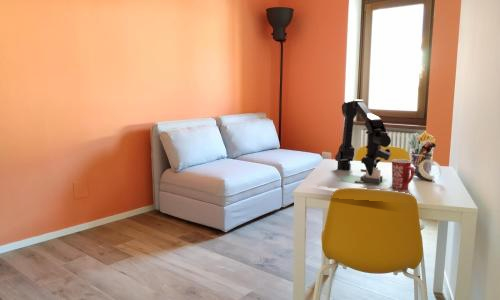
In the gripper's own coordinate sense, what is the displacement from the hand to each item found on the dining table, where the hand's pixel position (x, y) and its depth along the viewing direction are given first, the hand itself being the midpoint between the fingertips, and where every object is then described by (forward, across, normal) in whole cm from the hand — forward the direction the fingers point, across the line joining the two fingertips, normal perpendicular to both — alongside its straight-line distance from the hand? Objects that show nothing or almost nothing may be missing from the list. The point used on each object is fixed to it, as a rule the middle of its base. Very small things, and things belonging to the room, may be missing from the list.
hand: (371, 174), depth 203 cm
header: (+4, 0, 0) cm, 4 cm away
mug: (+5, -1, -15) cm, 16 cm away
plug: (+4, 0, 0) cm, 4 cm away
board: (+5, 0, +4) cm, 7 cm away
